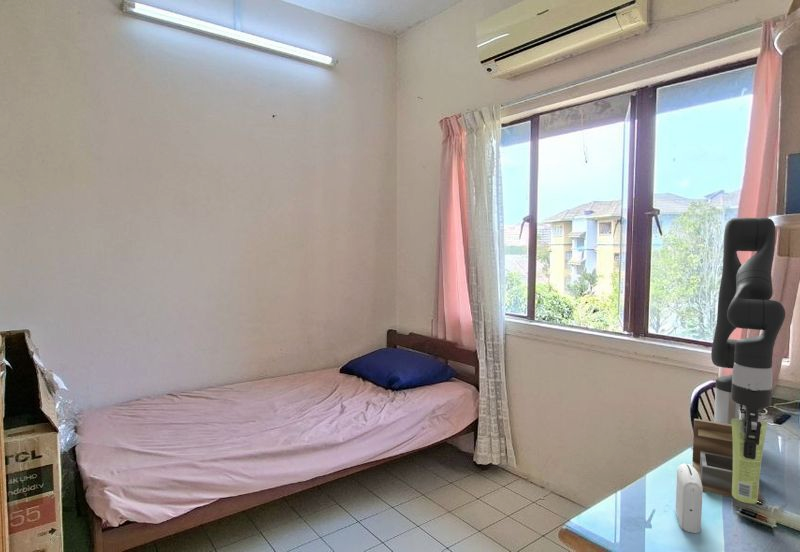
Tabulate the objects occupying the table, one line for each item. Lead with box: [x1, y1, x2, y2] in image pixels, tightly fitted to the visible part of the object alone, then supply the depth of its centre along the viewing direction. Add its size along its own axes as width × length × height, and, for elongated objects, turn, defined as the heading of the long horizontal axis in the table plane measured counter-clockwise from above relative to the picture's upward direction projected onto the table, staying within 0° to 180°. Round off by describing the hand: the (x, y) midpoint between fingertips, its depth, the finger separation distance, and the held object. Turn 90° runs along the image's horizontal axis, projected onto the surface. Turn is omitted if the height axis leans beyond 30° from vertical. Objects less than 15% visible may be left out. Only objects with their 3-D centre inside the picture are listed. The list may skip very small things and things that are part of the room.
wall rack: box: [692, 418, 764, 504], centre depth 122 cm, size 17×14×13 cm
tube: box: [731, 419, 768, 505], centre depth 109 cm, size 6×5×20 cm
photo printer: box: [675, 463, 703, 534], centre depth 105 cm, size 10×4×12 cm, turn 156°
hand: (747, 453), depth 108 cm, fingers closed on tube, 4 cm apart
